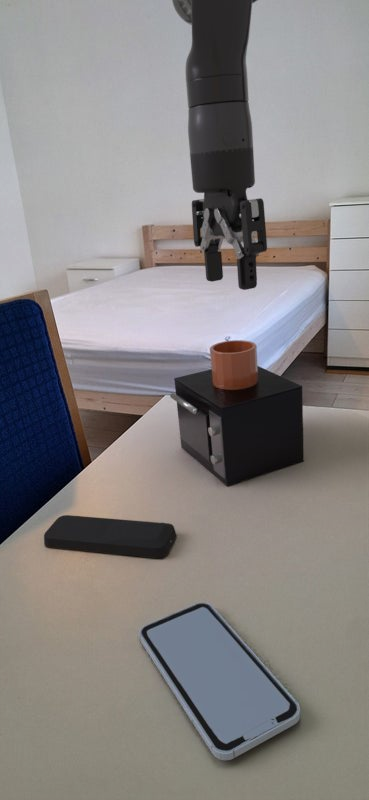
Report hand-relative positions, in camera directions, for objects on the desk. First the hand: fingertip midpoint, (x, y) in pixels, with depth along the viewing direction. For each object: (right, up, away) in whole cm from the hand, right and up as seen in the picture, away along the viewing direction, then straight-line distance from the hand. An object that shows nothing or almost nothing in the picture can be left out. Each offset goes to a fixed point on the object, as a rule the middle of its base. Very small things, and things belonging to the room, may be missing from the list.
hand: (230, 284), depth 77 cm
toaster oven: (+2, -23, +9) cm, 24 cm away
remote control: (-14, -31, -8) cm, 35 cm away
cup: (+1, -12, +5) cm, 13 cm away
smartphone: (-4, -37, -28) cm, 47 cm away
